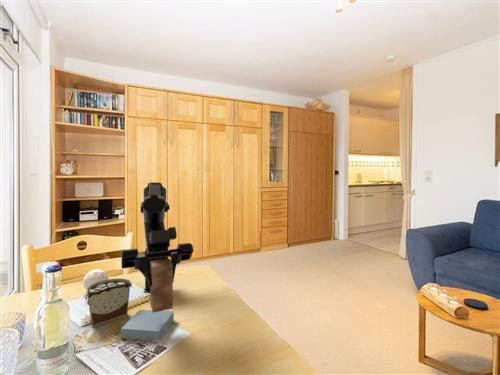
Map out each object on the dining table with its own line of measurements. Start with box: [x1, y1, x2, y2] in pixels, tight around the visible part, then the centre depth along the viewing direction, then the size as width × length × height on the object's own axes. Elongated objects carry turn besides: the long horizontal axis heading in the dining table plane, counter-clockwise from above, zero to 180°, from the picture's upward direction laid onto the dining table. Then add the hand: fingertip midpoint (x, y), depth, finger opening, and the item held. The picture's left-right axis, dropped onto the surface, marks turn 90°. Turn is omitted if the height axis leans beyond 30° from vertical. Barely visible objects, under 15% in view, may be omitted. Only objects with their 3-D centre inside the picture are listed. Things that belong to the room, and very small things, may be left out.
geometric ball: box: [82, 268, 109, 291], centre depth 99 cm, size 8×8×8 cm
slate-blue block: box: [120, 309, 175, 341], centre depth 75 cm, size 10×10×3 cm
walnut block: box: [149, 257, 174, 313], centre depth 74 cm, size 5×5×12 cm
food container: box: [84, 278, 133, 327], centre depth 81 cm, size 12×6×10 cm, turn 134°
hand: (161, 284), depth 73 cm, fingers closed on walnut block, 5 cm apart
